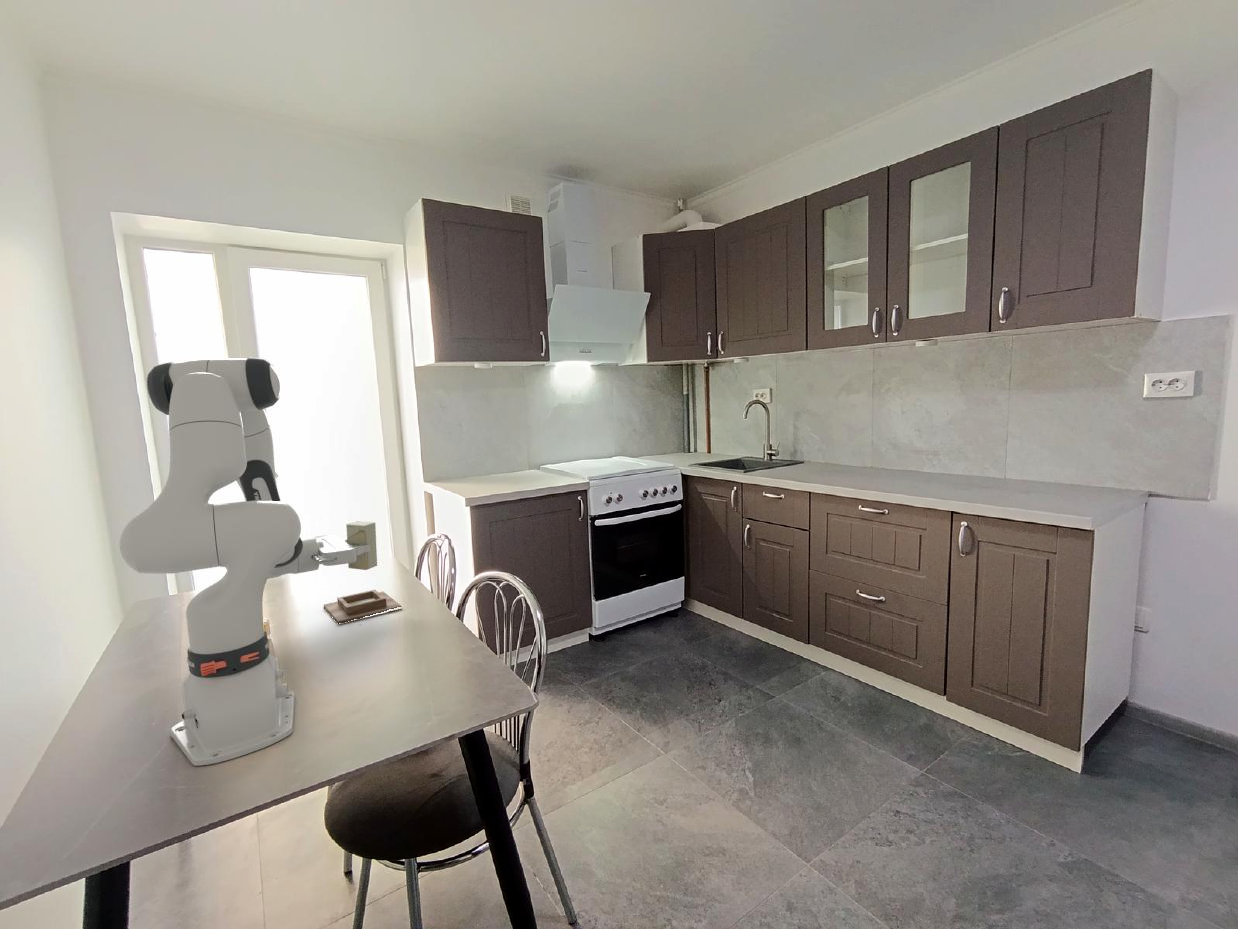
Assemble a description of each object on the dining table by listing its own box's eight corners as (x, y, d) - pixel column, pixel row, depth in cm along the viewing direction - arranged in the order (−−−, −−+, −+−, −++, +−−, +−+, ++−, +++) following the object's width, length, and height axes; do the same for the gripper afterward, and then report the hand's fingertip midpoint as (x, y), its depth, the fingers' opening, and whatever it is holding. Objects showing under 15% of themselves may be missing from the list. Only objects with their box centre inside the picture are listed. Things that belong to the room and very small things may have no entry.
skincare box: (348, 568, 154) (344, 524, 152) (360, 564, 158) (356, 520, 157) (367, 570, 152) (364, 525, 150) (379, 565, 156) (375, 521, 155)
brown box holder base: (401, 609, 156) (400, 598, 156) (338, 625, 146) (337, 613, 146) (383, 594, 169) (382, 584, 168) (323, 608, 159) (322, 597, 158)
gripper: (316, 549, 138) (375, 540, 146) (299, 535, 154) (354, 527, 162) (318, 575, 138) (377, 564, 147) (301, 558, 154) (355, 548, 163)
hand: (365, 544), depth 155 cm, fingers closed on skincare box, 7 cm apart
